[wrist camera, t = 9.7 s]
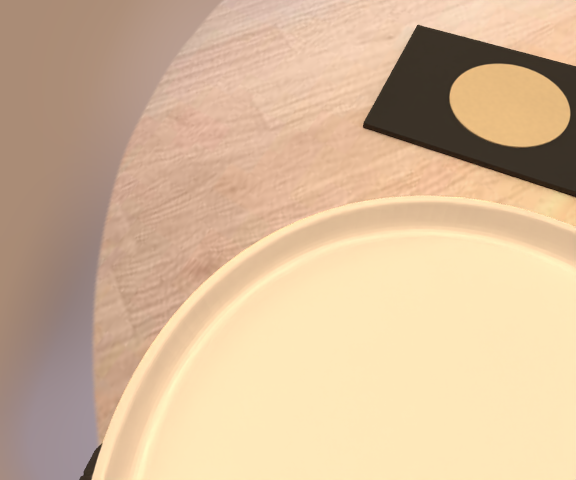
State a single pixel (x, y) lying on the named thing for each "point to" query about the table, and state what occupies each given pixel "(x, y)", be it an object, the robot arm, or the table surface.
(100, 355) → the table surface
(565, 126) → the mat
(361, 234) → the beverage can
